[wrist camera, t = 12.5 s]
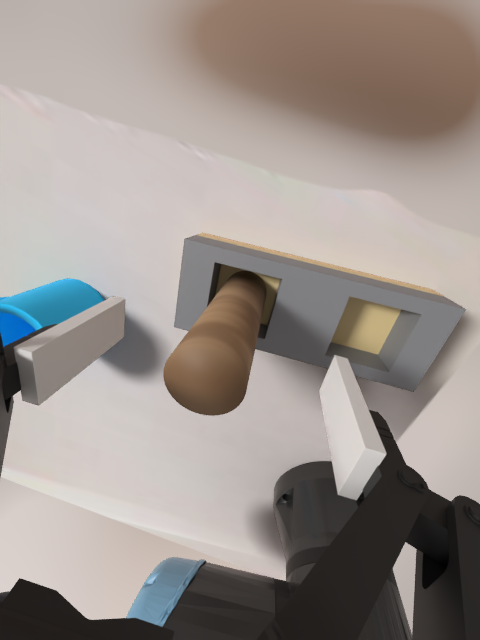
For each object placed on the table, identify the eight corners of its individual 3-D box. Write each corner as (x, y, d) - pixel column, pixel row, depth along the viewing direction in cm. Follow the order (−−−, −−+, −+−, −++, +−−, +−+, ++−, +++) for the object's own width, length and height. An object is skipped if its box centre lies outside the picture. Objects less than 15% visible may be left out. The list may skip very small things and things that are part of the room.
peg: (271, 305, 25) (257, 409, 13) (232, 315, 26) (182, 420, 14) (259, 265, 24) (230, 336, 11) (218, 277, 25) (149, 354, 12)
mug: (112, 290, 30) (54, 318, 22) (110, 350, 33) (59, 392, 26) (13, 260, 30) (-75, 278, 23) (21, 322, 34) (-53, 356, 26)
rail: (432, 289, 24) (466, 309, 20) (392, 360, 28) (413, 391, 23) (202, 232, 25) (184, 239, 21) (191, 307, 29) (174, 327, 24)
